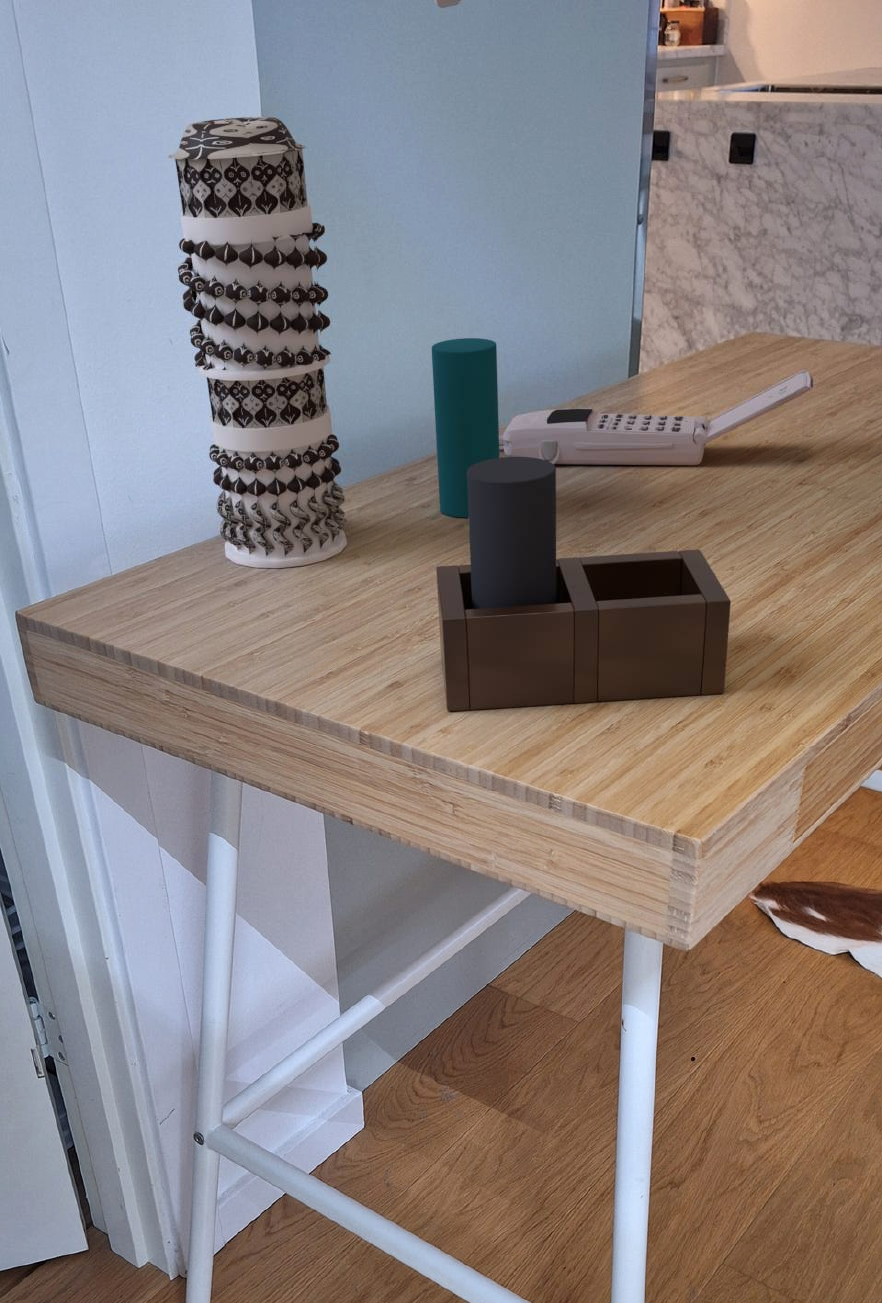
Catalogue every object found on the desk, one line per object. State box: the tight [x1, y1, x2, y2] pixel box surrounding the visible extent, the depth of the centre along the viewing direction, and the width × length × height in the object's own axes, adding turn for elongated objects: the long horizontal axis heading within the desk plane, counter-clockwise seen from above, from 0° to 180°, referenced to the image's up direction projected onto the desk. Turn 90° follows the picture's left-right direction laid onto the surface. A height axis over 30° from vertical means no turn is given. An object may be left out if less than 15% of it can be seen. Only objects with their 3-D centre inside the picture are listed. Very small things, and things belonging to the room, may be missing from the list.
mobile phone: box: [499, 369, 814, 466], centre depth 104 cm, size 6×6×25 cm
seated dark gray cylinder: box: [467, 456, 557, 609], centre depth 70 cm, size 4×4×11 cm
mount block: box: [435, 549, 732, 712], centre depth 72 cm, size 14×8×5 cm, turn 92°
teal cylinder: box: [431, 337, 500, 519], centre depth 94 cm, size 4×4×11 cm
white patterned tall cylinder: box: [168, 116, 348, 569], centre depth 85 cm, size 9×9×25 cm
